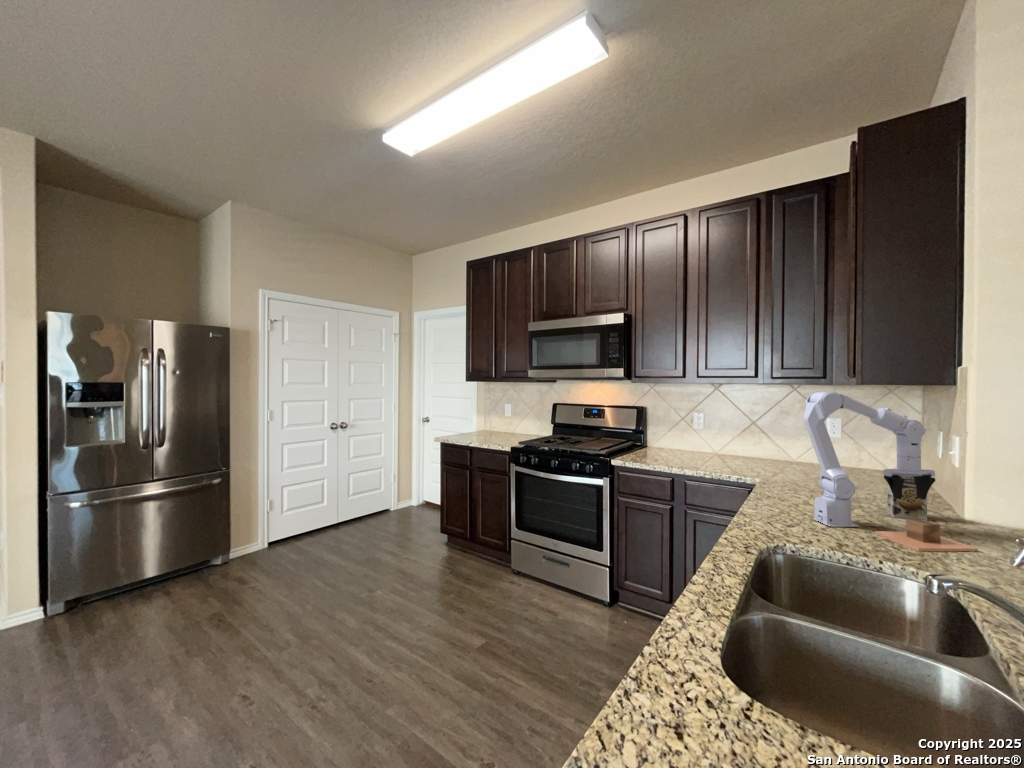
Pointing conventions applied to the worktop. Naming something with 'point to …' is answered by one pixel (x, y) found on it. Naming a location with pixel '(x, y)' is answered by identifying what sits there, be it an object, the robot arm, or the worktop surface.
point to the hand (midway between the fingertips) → (909, 498)
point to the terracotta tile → (925, 546)
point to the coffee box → (907, 502)
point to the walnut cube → (923, 531)
